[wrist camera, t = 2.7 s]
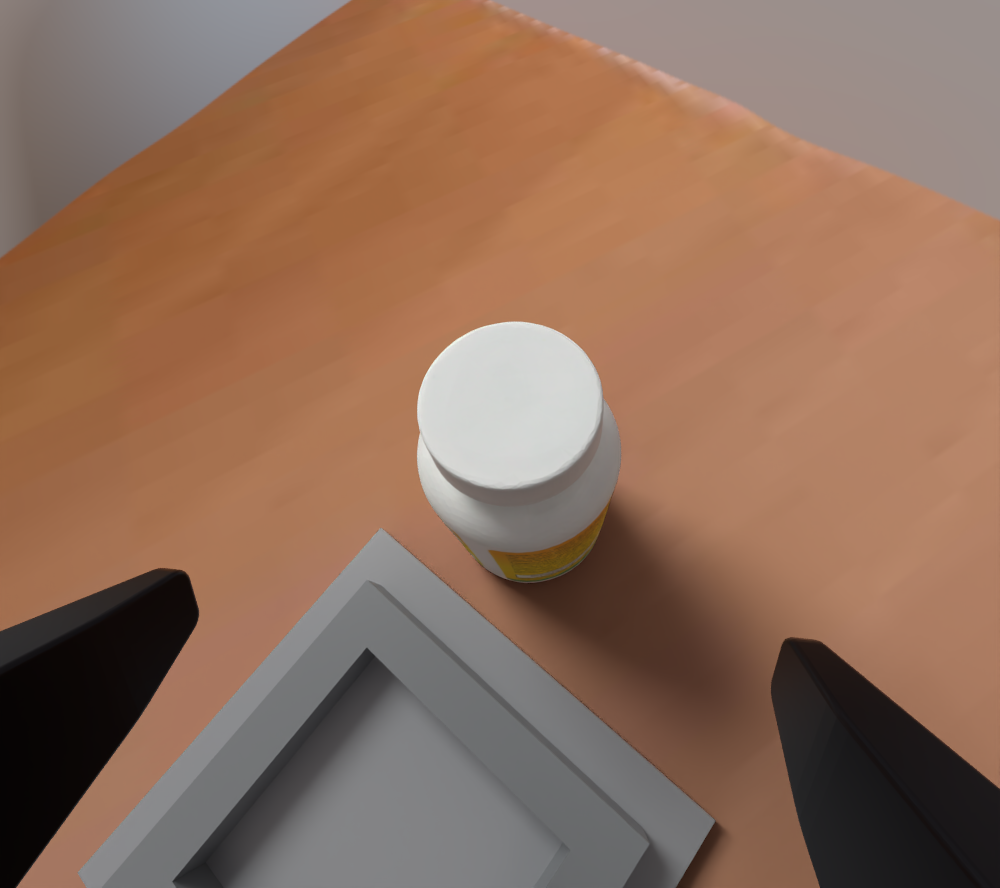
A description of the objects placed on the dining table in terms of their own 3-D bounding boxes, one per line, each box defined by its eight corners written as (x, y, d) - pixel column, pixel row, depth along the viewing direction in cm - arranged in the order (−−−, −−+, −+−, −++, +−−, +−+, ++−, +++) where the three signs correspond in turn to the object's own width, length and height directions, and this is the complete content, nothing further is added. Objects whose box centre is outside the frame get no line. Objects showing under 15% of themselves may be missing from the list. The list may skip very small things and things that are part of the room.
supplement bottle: (436, 544, 20) (333, 454, 11) (501, 427, 21) (457, 265, 12) (565, 613, 18) (568, 572, 9) (625, 482, 20) (676, 342, 11)
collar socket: (394, 1342, 12) (364, 1467, 11) (93, 865, 17) (32, 893, 15) (709, 814, 16) (730, 837, 14) (385, 531, 20) (367, 517, 18)
